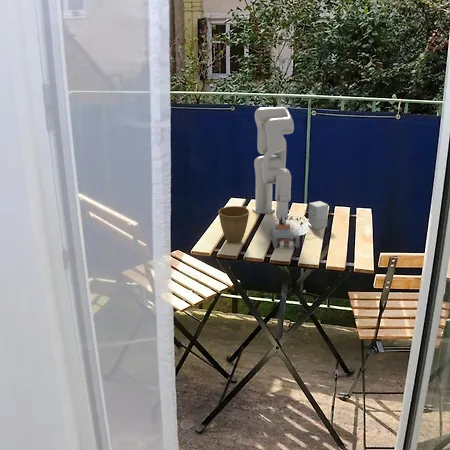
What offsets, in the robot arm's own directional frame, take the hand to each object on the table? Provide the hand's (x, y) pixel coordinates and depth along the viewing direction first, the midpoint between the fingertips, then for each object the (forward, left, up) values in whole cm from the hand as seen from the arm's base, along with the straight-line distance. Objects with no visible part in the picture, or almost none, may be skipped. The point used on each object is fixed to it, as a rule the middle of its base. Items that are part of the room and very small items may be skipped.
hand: (281, 231), depth 288 cm
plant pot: (+9, -25, -2) cm, 27 cm away
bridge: (+9, 0, -1) cm, 10 cm away
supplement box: (-10, +20, -2) cm, 22 cm away
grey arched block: (+9, 0, -2) cm, 9 cm away
